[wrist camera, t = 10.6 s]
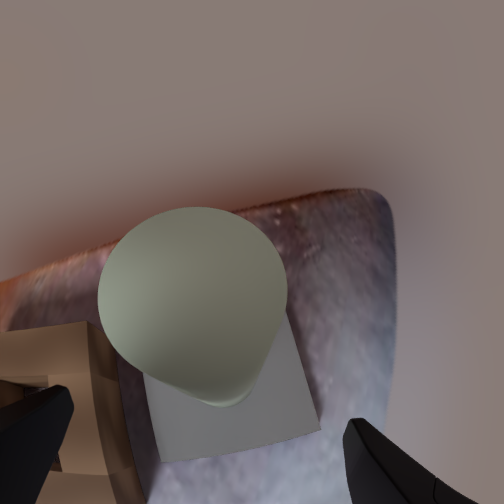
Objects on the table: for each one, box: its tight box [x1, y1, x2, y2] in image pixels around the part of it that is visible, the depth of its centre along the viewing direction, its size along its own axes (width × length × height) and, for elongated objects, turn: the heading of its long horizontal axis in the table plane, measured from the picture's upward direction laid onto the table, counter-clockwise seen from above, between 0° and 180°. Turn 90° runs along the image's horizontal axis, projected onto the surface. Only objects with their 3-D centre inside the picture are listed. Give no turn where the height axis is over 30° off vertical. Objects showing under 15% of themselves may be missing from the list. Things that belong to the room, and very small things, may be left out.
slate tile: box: [143, 310, 321, 463], centre depth 16 cm, size 9×9×1 cm
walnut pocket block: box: [0, 321, 146, 504], centre depth 12 cm, size 11×11×4 cm
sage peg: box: [98, 207, 287, 408], centre depth 10 cm, size 4×4×12 cm
